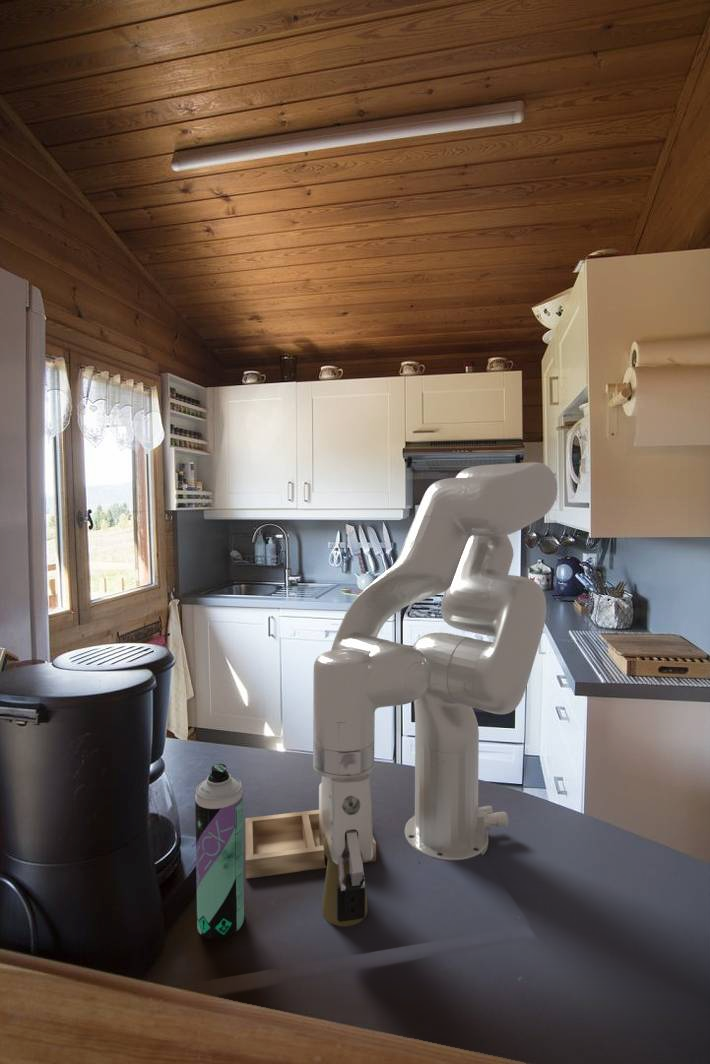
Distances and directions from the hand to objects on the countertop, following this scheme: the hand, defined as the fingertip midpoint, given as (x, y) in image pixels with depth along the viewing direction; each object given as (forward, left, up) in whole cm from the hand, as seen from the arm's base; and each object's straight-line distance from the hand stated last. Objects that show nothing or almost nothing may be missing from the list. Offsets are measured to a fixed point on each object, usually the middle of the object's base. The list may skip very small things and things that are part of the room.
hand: (343, 889), depth 67 cm
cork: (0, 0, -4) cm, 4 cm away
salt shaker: (-2, -13, -3) cm, 14 cm away
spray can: (+15, -1, -4) cm, 15 cm away
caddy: (+3, -13, -4) cm, 14 cm away
